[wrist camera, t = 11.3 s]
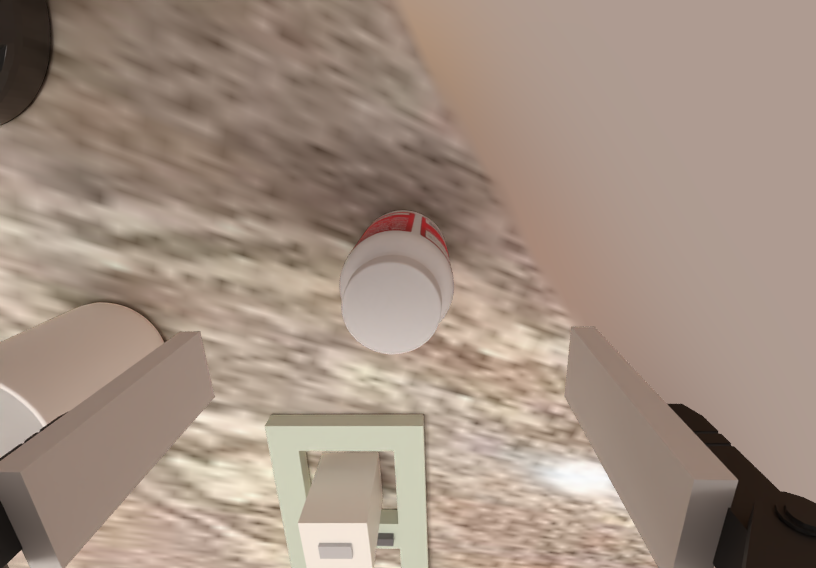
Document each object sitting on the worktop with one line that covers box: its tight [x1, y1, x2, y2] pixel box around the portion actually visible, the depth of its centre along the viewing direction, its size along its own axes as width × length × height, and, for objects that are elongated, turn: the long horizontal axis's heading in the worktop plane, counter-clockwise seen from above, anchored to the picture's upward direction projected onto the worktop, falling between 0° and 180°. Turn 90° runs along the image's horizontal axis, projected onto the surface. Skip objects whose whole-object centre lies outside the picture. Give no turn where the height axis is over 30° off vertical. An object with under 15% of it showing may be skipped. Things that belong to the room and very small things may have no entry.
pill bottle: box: [340, 210, 454, 354], centre depth 23 cm, size 6×6×11 cm
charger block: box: [298, 452, 383, 568], centre depth 32 cm, size 5×5×7 cm
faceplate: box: [265, 414, 429, 568], centre depth 36 cm, size 24×13×2 cm, turn 2°
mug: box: [0, 302, 164, 458], centre depth 28 cm, size 9×12×11 cm
